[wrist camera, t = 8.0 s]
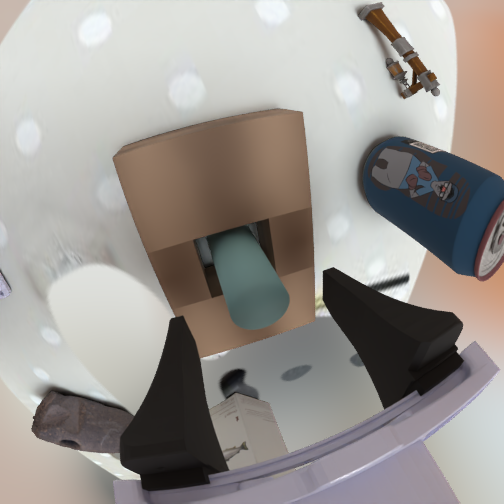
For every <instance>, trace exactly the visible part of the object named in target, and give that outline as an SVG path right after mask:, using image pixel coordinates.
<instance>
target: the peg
mask: <svg viewBox="0 0 504 504" xmlns="http://www.w3.org/2000/svg"><path fill="white" fill-rule="evenodd" d="M206 238H207V242H208V245H209V248H210V252H211V255H212V259H213V262H214V265H215V269H216V272H217V275H218V278H219V282H220V285H221V288H222V291H223V295H224V298H225V301H226V304H227V307H228V310H229V313H230V317H231V319H232V321H233V322H234V323H235V324H236V325H237V326H239V327H241V328H244V329H249V330H255V329H261V328H265V327H267V326H270V325H272V324H273V323H275V322H276V321H278V320H279V319H280V318H281V317H282V316H283V315H284V314H285V312H286V311H287V309H288V306H289V303H290V297H289V294H288V292H287V290H286V288H285V287H284V285H283V283H282V282H281V280H280V278H279V277H278V275H277V273H276V272H275V270H274V268H273V267H272V265H271V263H270V262H269V260H268V258H267V257H266V255H265V253H264V252H263V250H262V248H261V247H260V245H259V244H258V242H257V240H256V239H255V237H254V235H253V234H252V232H251V230H250V229H249V227H248V225H247V224H246V225H243V226H239V227H236V228H232V229H229V230H225V231H222V232H218V233H215V234H211V235H208V236H206Z"/></svg>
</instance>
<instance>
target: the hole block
mask: <svg viewBox="0 0 504 504" xmlns="http://www.w3.org/2000/svg"><path fill="white" fill-rule="evenodd" d="M113 161H114V165H115V168H116V171H117V174H118V177H119V180H120V183H121V186H122V189H123V192H124V195H125V198H126V200H127V203H128V206H129V209H130V211H131V214H132V217H133V220H134V222H135V225H136V227H137V230H138V233H139V235H140V238H141V240H142V243H143V245H144V248H145V250H146V252H147V255H148V257H149V260H150V262H151V264H152V267H153V269H154V271H155V273H156V276H157V278H158V280H159V282H160V285H161V287H162V289H163V291H164V293H165V296H166V298H167V300H168V302H169V304H170V306H171V308H172V310H173V312H174V314H175V317H178V316H182V315H183V316H184V318H185V321H186V323H187V325H188V327H189V329H190V331H191V333H192V335H193V337H194V339H195V341H196V345H197V349H198V353H199V357H200V358H203V357H207V356H210V355H214V354H217V353H221V352H224V351H227V350H231V349H234V348H237V347H241V346H244V345H247V344H250V343H253V342H256V341H260V340H263V339H266V338H269V337H272V336H275V335H277V334H280V333H283V332H286V331H289V330H292V329H295V328H297V327H300V326H303V325H306V324H308V323H310V322H314V321H315V272H314V244H313V223H312V207H311V192H310V179H309V167H308V156H307V146H306V137H305V128H304V119H303V112H300V111H293V110H287V109H272V110H265V111H259V112H253V113H248V114H242V115H237V116H232V117H227V118H222V119H218V120H213V121H209V122H205V123H201V124H196V125H192V126H189V127H185V128H181V129H177V130H174V131H170V132H167V133H163V134H160V135H157V136H153V137H150V138H147V139H144V140H141V141H138V142H135V143H132V144H129V145H126V146H123V147H122V148H121V149H120V150H119V151H118V152H117V154H116V155H115V156H114V157H113ZM254 222H256V223H257V229H258V235H259V240H260V246H261V248H262V250H263V252H264V253H265V255H266V257H267V258H268V260H269V262H270V263H271V265H272V267H273V268H274V270H275V272H276V273H277V275H278V277H279V278H280V280H281V282H282V283H283V285H284V287H285V288H286V290H287V292H288V294H289V297H290V303H289V306H288V309H287V311H286V312H285V314H284V315H283V316H282V317H281V318H280V319H279V320H278V321H276V322H275V323H273V324H272V325H270V326H267V327H265V328H261V329H255V330H249V329H244V328H241V327H239V326H237V325H236V324H235V323H234V322H233V321H232V319H231V317H230V313H229V310H228V307H227V304H226V301H225V298H224V295H223V291H222V288H221V285H220V282H219V278H218V275H217V272H216V269H215V265H214V266H211V267H207V268H204V266H203V263H202V259H201V256H200V253H199V250H198V247H197V243H196V240H195V239H197V238H201V237H204V236H208V235H211V234H215V233H218V232H222V231H225V230H229V229H232V228H236V227H239V226H243V225H246V224H250V223H254Z"/></svg>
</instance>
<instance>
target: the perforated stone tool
mask: <svg viewBox="0 0 504 504" xmlns="http://www.w3.org/2000/svg"><path fill="white" fill-rule="evenodd" d="M133 418H134V416H133V415H131V414H129V413H127V412H125V411H123V410H120V409H117V408H112V407H105V405H103V404H101V403H98V402H94V401H91V400H88V399H85V398H82V397H77V396H75V397H74V396H63V395H62V394H60V393H57V392H54V391H51V392H50V393H49V394H48V395H47V396H46V397H45V398H44V399H43V400H42V402H41V403H40V405H39V406H38V407H37V410H36V414H35V416H33V419H34V421H33V425H32V428H31V429H32V432H33V433H34V434H35V435H36V437H37V438H39V439H42V440H45V441H47V442H51V443H54V444H57V445H60V446H63V447H69V448H72V449H75V450H80V451H87V452H96V453H120V436H121V435H122V434H123V432H124V431H125V430H126V428H127V427H128V425H129V424H130V423H131V421H132V420H133Z"/></svg>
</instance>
